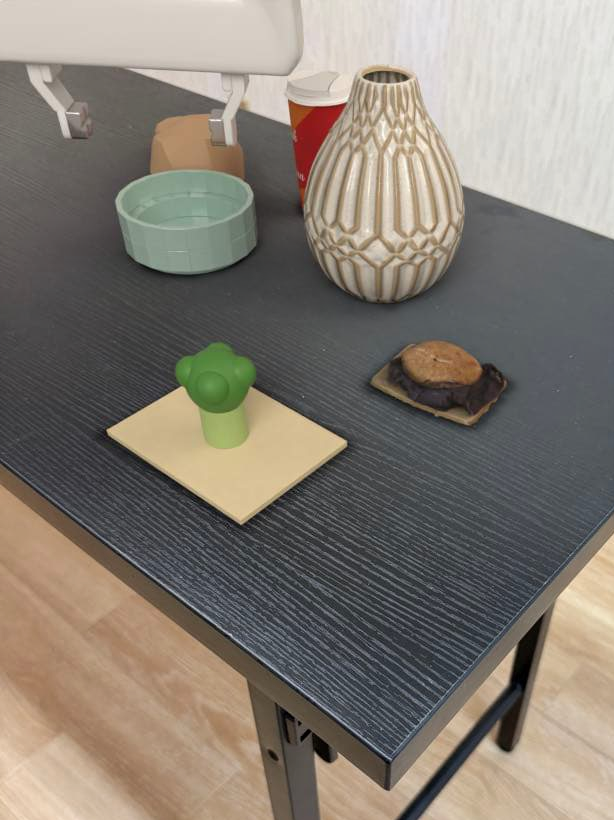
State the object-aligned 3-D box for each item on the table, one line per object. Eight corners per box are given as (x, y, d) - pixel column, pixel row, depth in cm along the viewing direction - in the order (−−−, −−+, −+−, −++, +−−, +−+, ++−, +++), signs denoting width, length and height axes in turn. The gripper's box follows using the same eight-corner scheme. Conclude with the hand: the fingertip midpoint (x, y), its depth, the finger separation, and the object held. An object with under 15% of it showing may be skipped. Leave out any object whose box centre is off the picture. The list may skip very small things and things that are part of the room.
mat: (107, 435, 67) (106, 429, 67) (216, 371, 74) (215, 365, 73) (241, 525, 60) (240, 520, 60) (347, 446, 67) (347, 441, 67)
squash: (178, 225, 93) (146, 144, 87) (142, 179, 107) (113, 106, 101) (264, 193, 95) (239, 111, 89) (218, 152, 109) (194, 79, 103)
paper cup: (314, 188, 100) (308, 62, 90) (368, 202, 98) (368, 75, 87) (279, 213, 95) (268, 83, 85) (335, 229, 93) (330, 97, 83)
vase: (298, 319, 80) (281, 102, 65) (317, 242, 91) (306, 40, 76) (458, 327, 80) (478, 112, 65) (458, 249, 90) (475, 49, 76)
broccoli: (182, 459, 64) (163, 377, 58) (194, 411, 69) (178, 329, 63) (260, 460, 65) (249, 378, 59) (267, 412, 69) (258, 330, 63)
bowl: (114, 278, 84) (101, 227, 80) (141, 215, 94) (131, 167, 90) (251, 280, 85) (245, 230, 81) (264, 218, 94) (259, 170, 90)
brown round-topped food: (364, 390, 73) (364, 355, 70) (414, 345, 77) (415, 311, 75) (467, 432, 69) (471, 397, 66) (512, 383, 74) (517, 348, 71)
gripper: (-123, -135, 40) (-27, 151, 50) (290, -110, 41) (302, 167, 51) (-74, -155, 44) (6, 113, 54) (300, -131, 45) (309, 128, 55)
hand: (152, 139), depth 53 cm, fingers open, 8 cm apart
